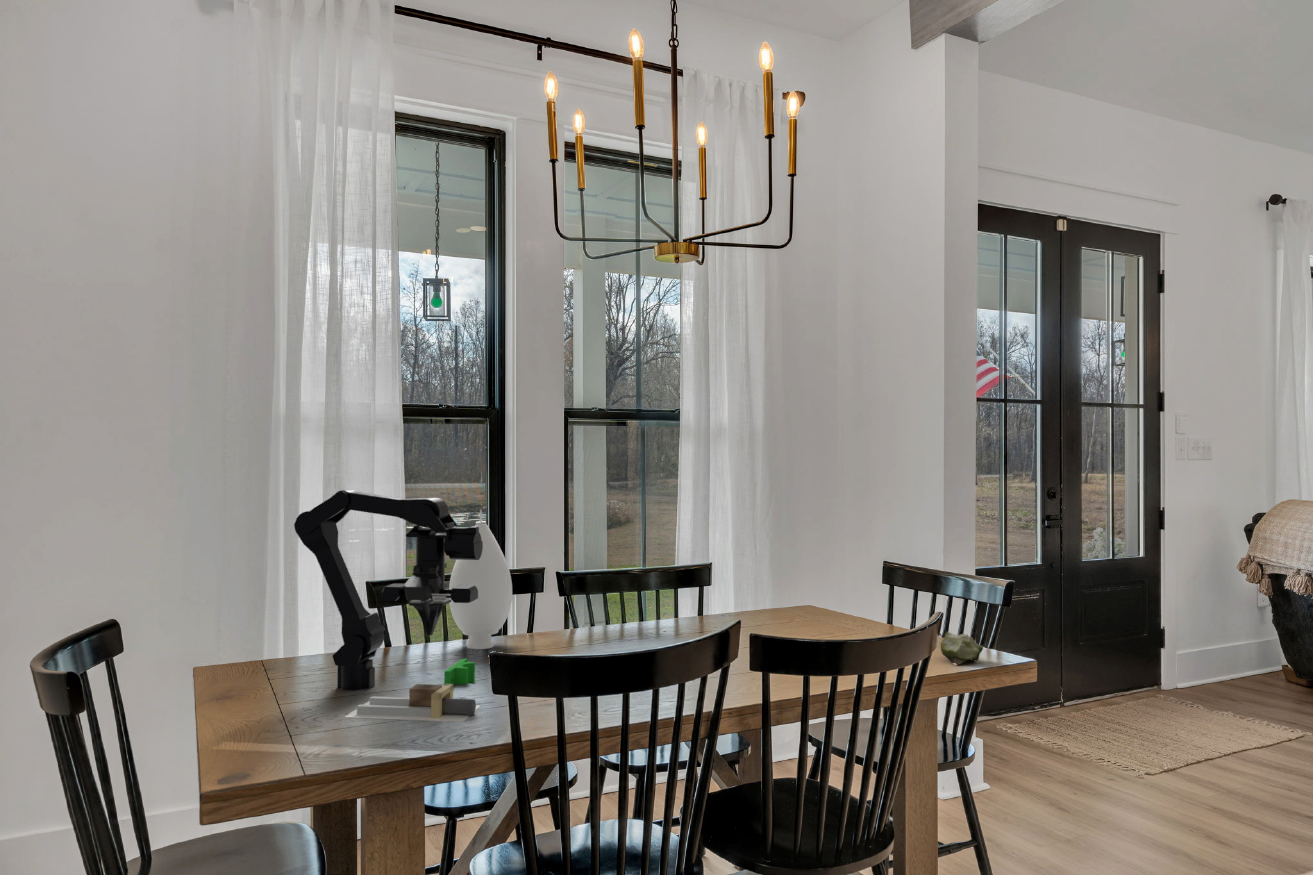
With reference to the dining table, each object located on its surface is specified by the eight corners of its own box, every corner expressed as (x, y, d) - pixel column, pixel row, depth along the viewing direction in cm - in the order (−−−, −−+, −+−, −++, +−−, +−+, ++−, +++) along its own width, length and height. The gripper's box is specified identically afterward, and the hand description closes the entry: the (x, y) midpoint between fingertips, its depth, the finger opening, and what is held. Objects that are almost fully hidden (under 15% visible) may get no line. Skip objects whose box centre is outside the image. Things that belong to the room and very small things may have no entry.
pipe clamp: (461, 694, 179) (461, 671, 179) (444, 693, 179) (444, 671, 179) (479, 679, 190) (479, 658, 190) (462, 678, 190) (462, 657, 190)
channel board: (344, 722, 159) (344, 693, 159) (368, 706, 169) (368, 679, 169) (463, 727, 156) (463, 697, 157) (480, 710, 166) (480, 682, 166)
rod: (436, 716, 161) (433, 706, 159) (440, 704, 163) (437, 694, 162) (472, 718, 160) (470, 708, 159) (476, 706, 163) (474, 696, 161)
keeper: (409, 713, 161) (409, 688, 161) (416, 707, 164) (416, 684, 164) (435, 714, 160) (435, 689, 161) (441, 708, 164) (441, 684, 164)
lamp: (515, 651, 215) (516, 510, 216) (449, 655, 211) (451, 511, 212) (508, 638, 231) (509, 506, 231) (447, 641, 226) (448, 507, 227)
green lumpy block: (932, 664, 210) (931, 630, 211) (965, 665, 212) (963, 631, 214) (956, 666, 201) (955, 631, 203) (990, 667, 204) (988, 632, 206)
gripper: (369, 563, 171) (369, 642, 171) (461, 565, 169) (460, 645, 169) (393, 556, 182) (392, 630, 182) (479, 558, 180) (478, 633, 180)
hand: (429, 635), depth 178 cm, fingers closed
